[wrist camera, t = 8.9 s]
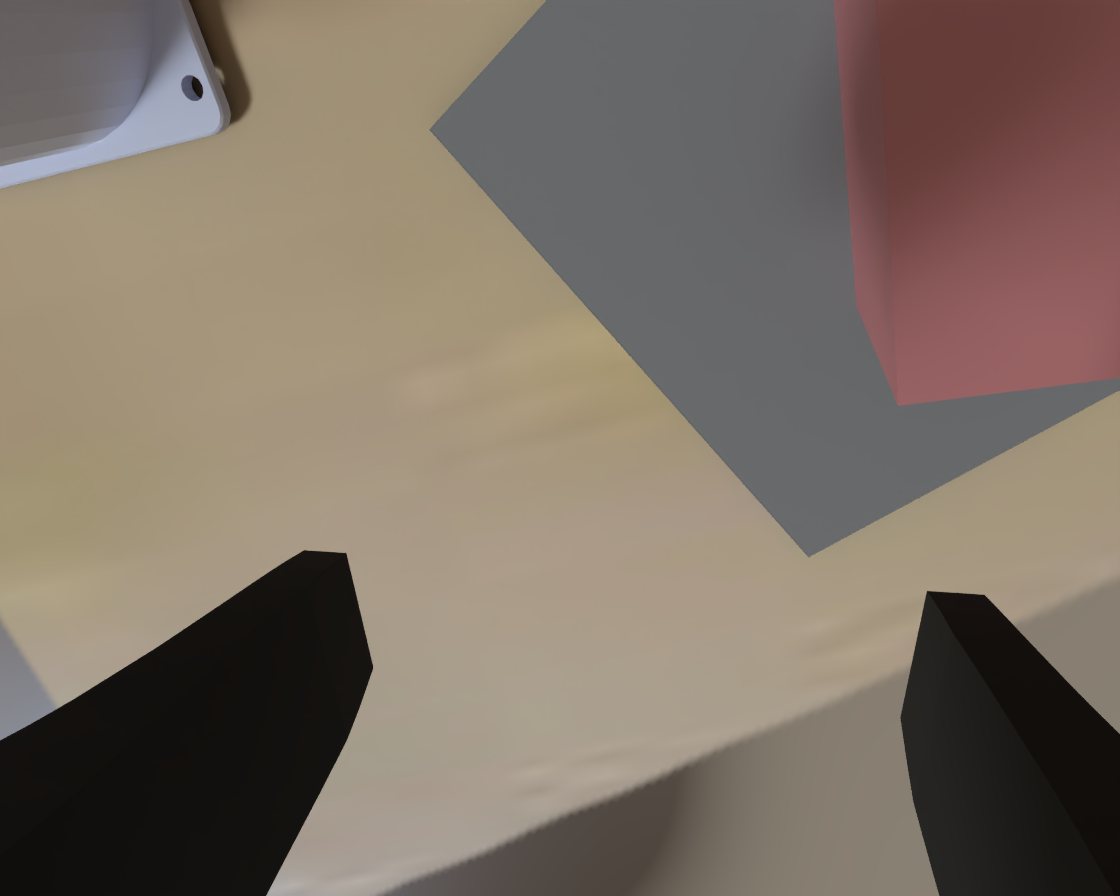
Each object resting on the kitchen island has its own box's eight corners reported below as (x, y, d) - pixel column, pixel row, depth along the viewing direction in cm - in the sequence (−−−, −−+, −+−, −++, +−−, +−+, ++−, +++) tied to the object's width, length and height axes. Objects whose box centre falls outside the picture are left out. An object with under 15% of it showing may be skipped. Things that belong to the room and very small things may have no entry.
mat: (807, 548, 21) (808, 557, 21) (435, 127, 17) (429, 129, 17) (1596, 118, 14) (1619, 122, 13) (1232, -748, 10) (1249, -774, 10)
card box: (856, 306, 17) (897, 406, 13) (831, -23, 14) (875, -35, 10) (1062, 273, 16) (1181, 369, 12) (1078, -90, 13) (1244, -135, 9)
